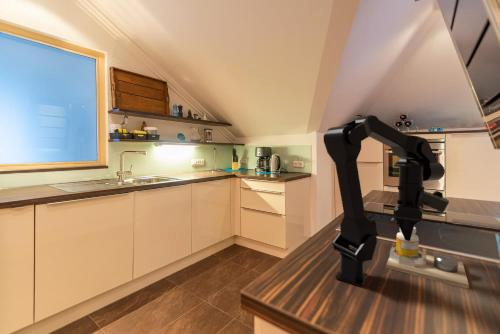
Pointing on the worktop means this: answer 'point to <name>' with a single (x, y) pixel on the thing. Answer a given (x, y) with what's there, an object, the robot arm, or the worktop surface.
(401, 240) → the supplement bottle
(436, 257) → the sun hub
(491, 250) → the worktop surface
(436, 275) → the carrier plate
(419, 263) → the socket collar
